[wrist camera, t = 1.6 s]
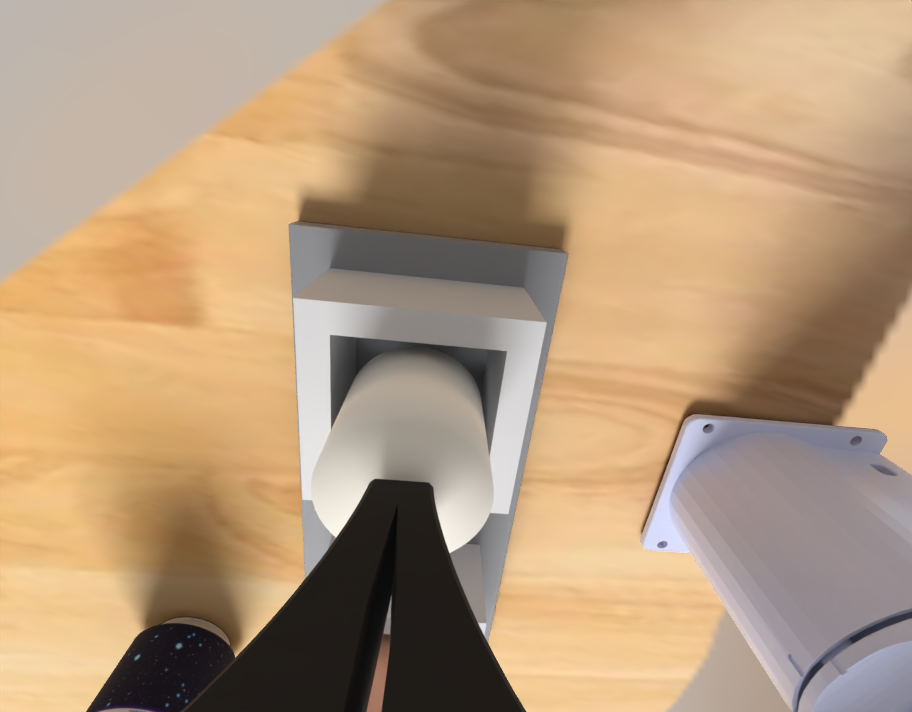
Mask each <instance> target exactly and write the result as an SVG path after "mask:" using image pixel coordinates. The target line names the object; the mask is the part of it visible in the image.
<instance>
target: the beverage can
mask: <svg viewBox="0 0 912 712" xmlns="http://www.w3.org/2000/svg"><path fill="white" fill-rule="evenodd" d="M234 659H235V655H234V653H233V650H232V649H231V647H230V642H229V639H228V637H227V635H226V634H225V633H224V632H223V631H222V630H221V629H220V628H219V627H217V626H216V625H214V624H212V623H210V622H208V621H205V620H202V619H197V618H191V617H180V618H174V619H171V620H168V621H166V622H164V623H163V624H160V625H156V626H153V627H151V628H148V629H146V630H144V631H143V632H141V633H140V634H139V635H138V636H137V637H136V638H135V639H134V641H133V642H132V644H131V645H130V647H129V648H128V650H127V651H126V653H125V654H124V656H123V657H122V659H121V660H120V662H119V663H118V665H117V666H116V668H115V669H114V671H113V672H112V674H111V675H110V677H109V678H108V680H107V681H106V683H105V684H104V686H103V687H102V689H101V690H100V692H99V693H98V695H97V696H96V698H95V699H94V701H93V702H92V704H91V705H90V707H89V708H88V710H87V711H86V712H180V711H182V710H183V709H184V708H185V707H186V706H187V705H188V704H189V703H190V702H191V701H192V700H193V699H194V698H196V697H197V696H198V695H199V694H200V693H201V692H202V691H203V690H204V689H205V688H206V687H207V686H208V685H209V684H210V683H211V682H212V681H213V680H214V679H215V678H216V677H217V676H218V675H219V674H220V673H221V672H222V671H223V670H224V669H225V668H226V667H227V666H228V665H229V664H230V663H231V662H232V661H233V660H234Z"/></svg>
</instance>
